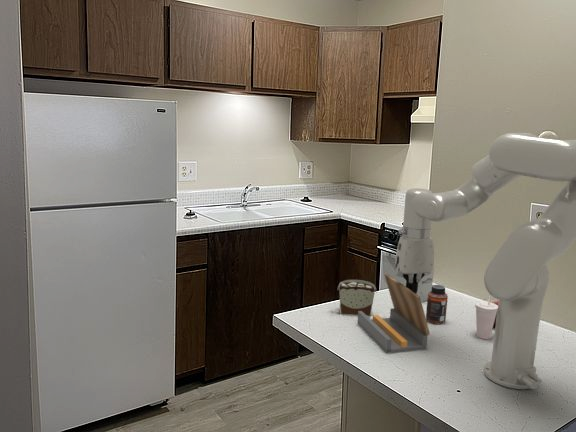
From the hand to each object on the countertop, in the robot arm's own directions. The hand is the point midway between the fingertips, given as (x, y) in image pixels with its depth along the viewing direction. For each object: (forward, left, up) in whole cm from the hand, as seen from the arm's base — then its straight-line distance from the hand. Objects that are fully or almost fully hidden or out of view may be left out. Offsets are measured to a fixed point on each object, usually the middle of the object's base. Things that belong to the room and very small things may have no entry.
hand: (411, 294), depth 148 cm
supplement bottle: (+7, -13, -12) cm, 19 cm away
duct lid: (0, +2, -3) cm, 3 cm away
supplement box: (+26, -17, -12) cm, 33 cm away
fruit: (-1, -31, -13) cm, 34 cm away
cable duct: (0, +6, -12) cm, 14 cm away
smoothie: (-6, -21, -12) cm, 25 cm away
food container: (+19, +9, -12) cm, 24 cm away
